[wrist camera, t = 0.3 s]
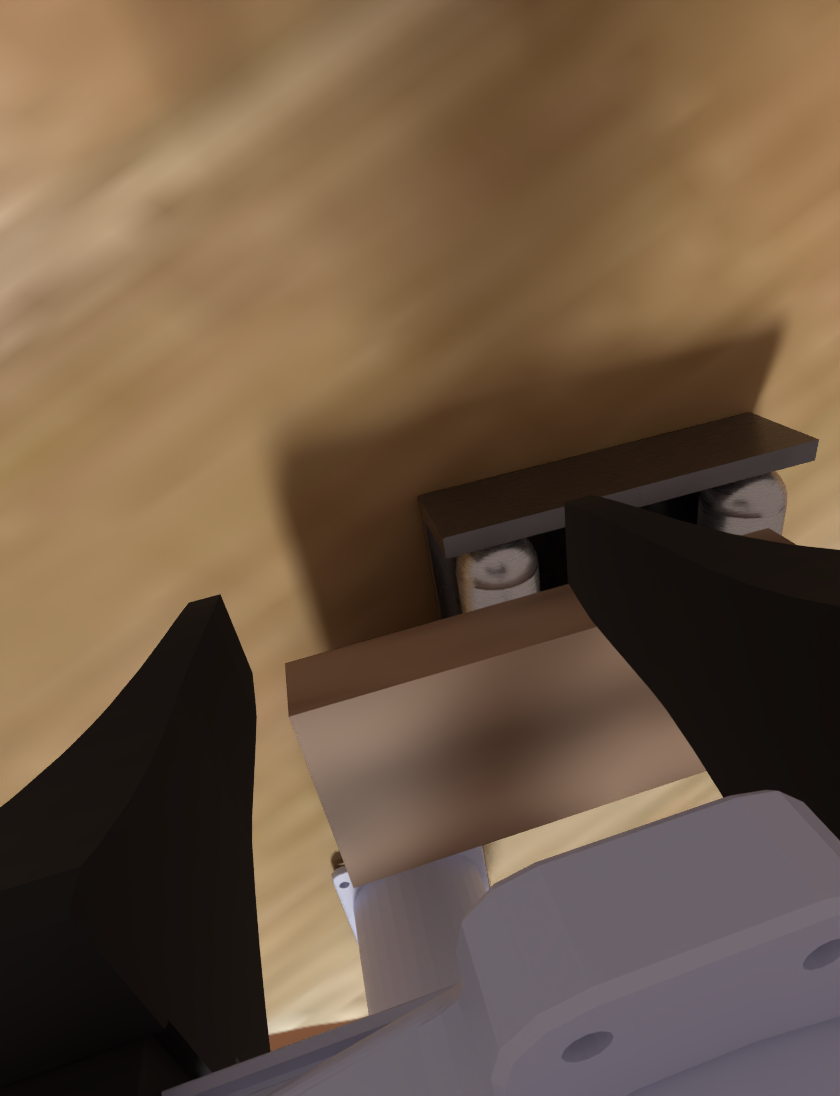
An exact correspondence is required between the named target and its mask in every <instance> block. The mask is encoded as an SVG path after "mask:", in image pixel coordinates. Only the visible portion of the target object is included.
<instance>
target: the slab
mask: <svg viewBox="0 0 840 1096" xmlns="http://www.w3.org/2000/svg"><path fill="white" fill-rule="evenodd" d="M741 536H746V537H750V538H756V539H762V540H768V541H773V542H779V543H785V544H792V545H796V544H794V543H793V542H791V541H789V540H788V539H786V538H784V537H783V536H781V535H779V534H778V533H776V532H774V531H773V530H771V529H770V528H766V529H763V530H759V531H755V532H752V533H748V534H745V535H741ZM285 670H286V683H287V697H288V711H289V718H290V721H291V724H292V726H293V729H294V732H295V734H296V737H297V740H298V742H299V745H300V747H301V750H302V753H303V755H304V758H305V761H306V763H307V766H308V769H309V771H310V774H311V777H312V779H313V782H314V785H315V787H316V790H317V793H318V795H319V798H320V800H321V803H322V806H323V808H324V811H325V814H326V816H327V819H328V822H329V824H330V827H331V830H332V832H333V835H334V838H335V840H336V843H337V846H338V848H339V851H340V853H341V856H342V859H343V861H344V864H345V867H346V869H347V872H348V875H349V877H350V880H351V883H352V885H353V888H356V887H359V886H362V885H365V884H368V883H371V882H374V881H377V880H380V879H383V878H386V877H389V876H392V875H395V874H398V873H401V872H404V871H407V870H410V869H413V868H416V867H419V866H422V865H425V864H428V863H431V862H434V861H437V860H440V859H443V858H446V857H449V856H452V855H455V854H458V853H461V852H464V851H467V850H470V849H473V848H476V847H479V846H482V845H485V844H488V843H491V842H494V841H497V840H500V839H503V838H506V837H509V836H512V835H515V834H518V833H521V832H524V831H527V830H530V829H533V828H536V827H539V826H542V825H545V824H548V823H551V822H554V821H557V820H560V819H563V818H566V817H569V816H572V815H575V814H578V813H581V812H584V811H587V810H590V809H593V808H596V807H599V806H602V805H605V804H608V803H611V802H614V801H617V800H620V799H623V798H626V797H629V796H632V795H635V794H638V793H641V792H644V791H647V790H650V789H653V788H656V787H659V786H662V785H665V784H668V783H671V782H674V781H677V780H680V779H683V778H686V777H689V776H692V775H695V774H698V773H701V772H704V771H706V769H705V768H704V766H703V764H702V763H701V761H700V760H699V758H698V757H697V755H696V753H695V752H694V750H693V749H692V747H691V746H690V744H689V743H688V741H687V740H686V738H685V737H684V735H683V734H682V732H681V731H680V730H679V728H678V727H677V725H676V724H675V722H674V721H673V719H672V718H671V716H670V715H669V713H668V712H667V710H666V709H665V708H664V706H663V705H662V704H661V702H660V701H659V700H658V699H657V697H656V696H655V695H654V693H653V692H652V691H651V690H650V689H649V687H648V686H647V685H646V684H645V683H644V682H643V680H642V679H641V678H640V677H639V676H638V675H637V673H636V672H635V671H634V670H633V669H632V668H631V666H630V665H629V664H628V663H627V662H626V661H625V659H624V658H623V657H622V656H621V655H620V654H619V652H618V651H617V650H616V649H615V648H614V647H613V645H612V644H611V643H610V642H609V641H608V640H607V638H606V637H605V636H604V635H603V634H602V632H601V631H600V630H599V629H598V628H597V626H596V625H595V624H594V623H593V621H592V620H591V619H590V618H589V616H588V615H587V613H586V611H585V610H584V608H583V607H582V605H581V604H580V602H579V600H578V599H577V597H576V595H575V594H574V592H573V590H572V589H571V587H570V585H569V584H566V585H563V586H559V587H556V588H552V589H549V590H545V591H541V592H538V593H534V594H531V595H527V596H524V597H520V598H516V599H513V600H509V601H506V602H502V603H499V604H495V605H492V606H488V607H484V608H481V609H477V610H474V611H470V612H467V613H463V614H459V615H456V616H452V617H449V618H445V619H442V620H438V621H434V622H431V623H427V624H424V625H420V626H417V627H413V628H409V629H406V630H402V631H399V632H395V633H392V634H388V635H385V636H381V637H377V638H374V639H370V640H367V641H363V642H360V643H356V644H352V645H349V646H345V647H342V648H338V649H335V650H331V651H327V652H324V653H320V654H317V655H313V656H310V657H306V658H302V659H299V660H295V661H292V662H288V663H285Z"/></svg>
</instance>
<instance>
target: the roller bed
mask: <svg viewBox="0 0 840 1096" xmlns="http://www.w3.org/2000/svg"><path fill="white" fill-rule="evenodd" d="M818 442H819V439H816V438H814V437H811V436H809V435H806V434H804V433H801V432H798V431H796V430H793V429H791V428H788V427H786V426H783V425H781V424H778V423H776V422H773V421H771V420H768V419H766V418H763V417H761V416H758V415H756V414H753V413H750V412H749V413H745V414H741V415H737V416H733V417H729V418H725V419H721V420H717V421H713V422H710V423H706V424H702V425H698V426H694V427H690V428H686V429H682V430H678V431H674V432H670V433H666V434H662V435H658V436H654V437H650V438H646V439H642V440H638V441H634V442H630V443H626V444H622V445H618V446H614V447H610V448H606V449H602V450H598V451H594V452H591V453H587V454H583V455H579V456H575V457H571V458H567V459H563V460H559V461H555V462H551V463H547V464H543V465H539V466H535V467H531V468H527V469H523V470H519V471H515V472H511V473H507V474H503V475H499V476H495V477H491V478H487V479H483V480H479V481H475V482H472V483H468V484H464V485H460V486H456V487H452V488H448V489H444V490H440V491H436V492H432V493H428V494H424V495H420V496H418V499H419V505H420V511H421V516H422V522H423V528H424V533H425V539H426V545H427V550H428V556H429V561H430V567H431V573H432V578H433V584H434V590H435V595H436V601H437V607H438V612H439V618H440V620H442V619H445V618H449V617H452V616H456V615H459V614H463V613H467V612H470V611H474V610H477V609H481V608H484V607H488V606H492V605H495V604H499V603H502V602H506V601H509V600H513V599H516V598H520V597H524V596H527V595H531V594H534V593H538V592H541V591H545V590H549V589H552V588H556V587H559V586H563V585H566V584H568V573H567V552H566V531H565V511H564V502H567V501H571V500H575V499H578V498H582V497H586V496H590V495H593V496H599V497H603V498H607V499H611V500H614V501H618V502H621V503H625V504H628V505H631V506H634V507H638V508H641V509H644V510H647V511H651V512H654V513H657V514H661V515H664V516H667V517H671V518H674V519H677V520H681V521H684V522H688V523H692V524H695V525H699V526H703V527H707V528H711V529H715V530H719V531H723V532H727V533H731V534H736V535H745V534H748V533H752V532H755V531H759V530H763V529H766V528H770V529H771V530H773V531H774V532H776V533H778V534H779V535H781V536H782V530H783V524H784V519H785V513H786V507H787V490H786V486H785V484H784V482H783V480H782V478H781V477H780V476H779V475H778V474H777V472H776V471H777V470H780V469H784V468H788V467H792V466H795V465H799V464H803V463H807V462H810V461H814V460H815V457H816V452H817V447H818Z"/></svg>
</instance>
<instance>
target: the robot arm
mask: <svg viewBox="0 0 840 1096" xmlns="http://www.w3.org/2000/svg"><path fill="white" fill-rule="evenodd" d="M564 511H565V531H566V552H567V573H568V584H569V585H570V587H571V589H572V590H573V592H574V594H575V595H576V597H577V599H578V600H579V602H580V604H581V605H582V607H583V608H584V610H585V611H586V613H587V615H588V616H589V618H590V619H591V620H592V621H593V623H594V624H595V625H596V626H597V628H598V629H599V630H600V631H601V632H602V634H603V635H604V636H605V637H606V638H607V640H608V641H609V642H610V643H611V644H612V645H613V647H614V648H615V649H616V650H617V651H618V652H619V654H620V655H621V656H622V657H623V658H624V659H625V661H626V662H627V663H628V664H629V665H630V666H631V668H632V669H633V670H634V671H635V672H636V673H637V675H638V676H639V677H640V678H641V679H642V680H643V682H644V683H645V684H646V685H647V686H648V687H649V689H650V690H651V691H652V692H653V693H654V695H655V696H656V697H657V699H658V700H659V701H660V702H661V704H662V705H663V706H664V708H665V709H666V710H667V712H668V713H669V715H670V716H671V718H672V719H673V721H674V722H675V724H676V725H677V727H678V728H679V730H680V731H681V732H682V734H683V735H684V737H685V738H686V740H687V741H688V743H689V744H690V746H691V747H692V749H693V750H694V752H695V753H696V755H697V757H698V758H699V760H700V761H701V763H702V764H703V766H704V768H705V769H706V771H707V772H708V774H709V775H710V777H711V778H712V780H713V782H714V783H715V785H716V786H717V788H718V789H719V791H720V793H721V794H722V796H723V798H721V799H718V800H716V801H713V802H710V803H707V804H704V805H701V806H698V807H695V808H692V809H689V810H686V811H684V812H681V813H678V814H675V815H672V816H669V817H666V818H663V819H660V820H657V821H655V822H652V823H649V824H646V825H643V826H640V827H637V828H634V829H631V830H628V831H626V832H623V833H620V834H617V835H614V836H611V837H608V838H605V839H602V840H599V841H596V842H594V843H591V844H588V845H585V846H582V847H579V848H576V849H573V850H570V851H567V852H565V853H562V854H559V855H556V856H553V857H550V858H547V859H544V860H541V861H538V862H536V863H533V864H532V865H530V866H528V867H526V868H524V869H522V870H520V871H518V872H516V873H514V874H512V875H510V876H509V877H507V878H505V879H503V880H501V881H499V882H497V883H495V884H494V885H493V886H492V887H491V888H489V882H488V877H487V871H486V865H485V859H484V854H483V848H482V846H479V847H476V848H473V849H470V850H467V851H464V852H461V853H458V854H455V855H452V856H449V857H446V858H443V859H440V860H437V861H434V862H431V863H428V864H425V865H422V866H419V867H416V868H413V869H410V870H407V871H404V872H401V873H398V874H395V875H392V876H389V877H386V878H383V879H380V880H377V881H374V882H371V883H368V884H365V885H362V886H359V887H356V888H353V885H352V883H351V880H350V877H349V875H348V872H347V869H346V867H345V866H342V867H339V868H337V869H336V870H335V871H333V873H332V880H333V884H334V886H335V889H336V891H337V894H338V896H339V899H340V901H341V903H342V906H343V908H344V911H345V913H346V916H347V918H348V921H349V923H350V926H351V928H352V931H353V933H354V936H355V938H356V941H357V943H358V945H359V951H360V958H361V965H362V972H363V979H364V986H365V992H366V999H367V1006H368V1013H369V1016H367V1017H364V1018H361V1019H359V1020H356V1021H353V1022H350V1023H348V1024H345V1025H342V1026H340V1027H337V1028H334V1029H331V1030H328V1031H326V1032H323V1033H320V1034H318V1035H315V1036H312V1037H309V1038H307V1039H304V1040H301V1041H298V1042H296V1043H293V1044H290V1045H288V1046H285V1047H282V1048H279V1049H276V1050H274V1051H271V1052H270V1044H269V1035H268V1026H267V1018H266V1008H265V998H264V988H263V978H262V967H261V957H260V947H259V934H258V922H257V909H256V896H255V882H254V866H253V849H252V808H253V787H254V766H255V744H256V718H257V716H256V704H255V693H254V684H253V674H252V671H251V668H250V666H249V663H248V661H247V658H246V656H245V654H244V651H243V649H242V646H241V644H240V641H239V639H238V636H237V634H236V631H235V629H234V627H233V624H232V622H231V619H230V617H229V614H228V612H227V609H226V607H225V605H224V602H223V600H222V597H221V595H216V596H212V597H208V598H205V599H201V600H197V601H193V602H190V603H188V605H187V606H186V607H185V608H184V610H183V611H182V612H181V614H180V615H179V616H178V618H177V619H176V620H175V622H174V623H173V625H172V626H171V627H170V629H169V630H168V632H167V633H166V634H165V636H164V637H163V639H162V640H161V641H160V643H159V644H158V645H157V647H156V648H155V649H154V651H153V652H152V653H151V655H150V656H149V657H148V659H147V660H146V661H145V663H144V664H143V665H142V667H141V668H140V669H139V671H138V672H137V673H136V674H135V675H134V677H133V678H132V679H131V680H130V681H129V683H128V684H127V685H126V686H125V687H124V689H123V690H122V691H121V692H120V694H119V695H118V696H117V697H116V698H115V700H114V701H113V702H112V703H111V704H110V706H109V707H108V708H107V709H106V710H105V711H104V712H103V713H102V714H101V716H100V717H99V718H98V719H97V720H96V721H95V722H94V723H93V724H92V725H91V726H90V727H89V728H88V729H87V730H86V731H85V732H84V733H83V734H82V735H81V736H80V737H79V738H78V739H77V740H76V741H75V742H74V743H73V744H72V745H71V746H70V747H69V748H68V749H67V750H66V751H65V752H64V753H63V754H62V755H61V756H60V757H59V758H58V759H56V760H55V761H54V762H53V763H52V764H51V765H50V766H48V767H47V768H46V769H45V770H44V771H43V772H42V773H40V774H39V775H38V776H37V777H36V778H35V779H34V780H32V781H31V782H30V783H29V784H28V785H27V786H26V787H24V788H23V789H22V790H21V791H20V792H19V793H18V794H16V795H15V796H14V797H13V798H12V799H10V800H9V801H8V802H7V803H5V804H4V805H3V806H2V807H0V1096H840V550H835V549H825V548H816V547H807V546H799V545H792V544H785V543H779V542H773V541H768V540H762V539H756V538H750V537H746V536H741V535H736V534H731V533H727V532H723V531H719V530H715V529H711V528H707V527H703V526H699V525H695V524H692V523H688V522H684V521H681V520H677V519H674V518H671V517H667V516H664V515H661V514H657V513H654V512H651V511H647V510H644V509H641V508H638V507H634V506H631V505H628V504H625V503H621V502H618V501H614V500H611V499H607V498H603V497H599V496H593V495H590V496H586V497H582V498H578V499H575V500H571V501H567V502H564Z"/></svg>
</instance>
